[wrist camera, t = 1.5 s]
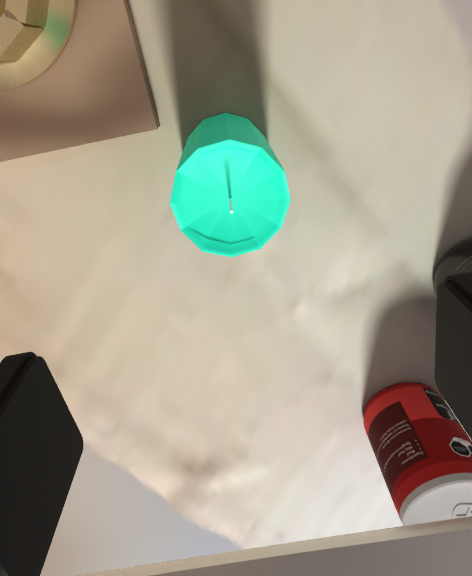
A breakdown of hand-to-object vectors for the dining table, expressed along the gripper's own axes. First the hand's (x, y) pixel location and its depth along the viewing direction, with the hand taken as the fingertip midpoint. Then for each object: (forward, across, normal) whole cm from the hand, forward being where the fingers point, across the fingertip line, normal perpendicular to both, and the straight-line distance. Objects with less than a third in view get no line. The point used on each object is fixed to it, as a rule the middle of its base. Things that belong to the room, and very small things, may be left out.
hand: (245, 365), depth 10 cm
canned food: (+24, -12, +27) cm, 38 cm away
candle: (+24, 0, 0) cm, 24 cm away
